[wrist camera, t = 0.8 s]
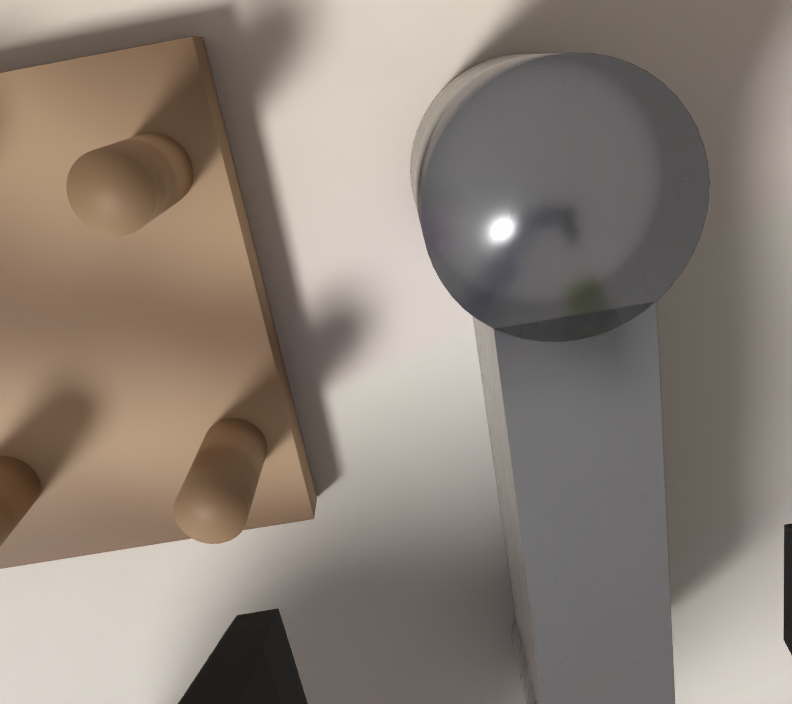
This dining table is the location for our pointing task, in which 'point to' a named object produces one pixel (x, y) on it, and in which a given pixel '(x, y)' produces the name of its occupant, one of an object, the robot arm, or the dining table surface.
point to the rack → (133, 317)
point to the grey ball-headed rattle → (570, 342)
